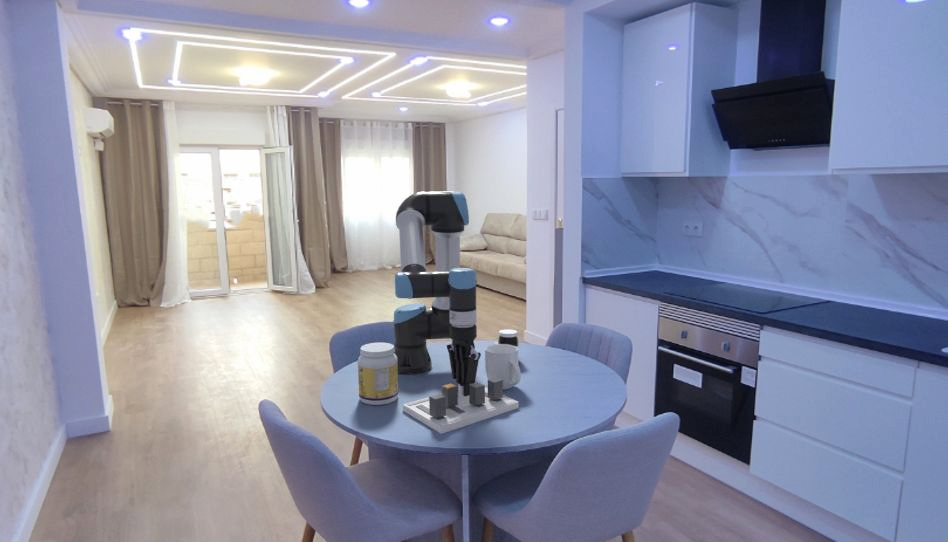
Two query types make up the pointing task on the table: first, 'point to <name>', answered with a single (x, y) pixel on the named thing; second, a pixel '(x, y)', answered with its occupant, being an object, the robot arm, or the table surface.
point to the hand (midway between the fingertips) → (463, 405)
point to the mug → (503, 364)
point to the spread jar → (508, 337)
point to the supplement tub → (378, 374)
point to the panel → (459, 412)
